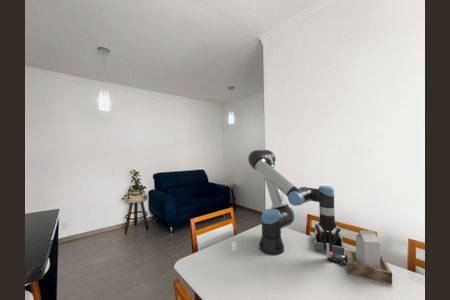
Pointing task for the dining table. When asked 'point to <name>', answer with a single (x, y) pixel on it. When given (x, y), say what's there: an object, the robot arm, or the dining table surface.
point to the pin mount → (337, 260)
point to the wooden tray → (368, 269)
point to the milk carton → (368, 249)
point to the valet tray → (335, 249)
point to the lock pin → (337, 256)
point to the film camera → (338, 242)
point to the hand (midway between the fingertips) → (328, 256)
